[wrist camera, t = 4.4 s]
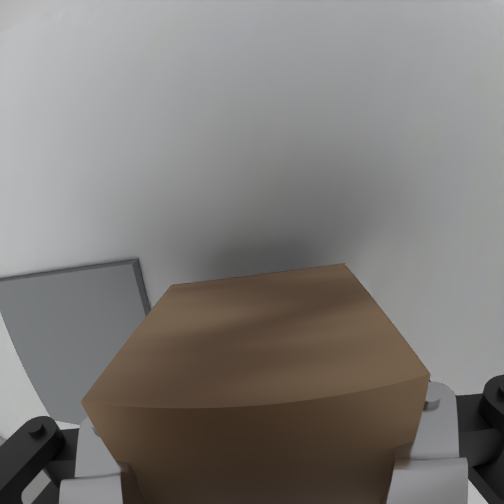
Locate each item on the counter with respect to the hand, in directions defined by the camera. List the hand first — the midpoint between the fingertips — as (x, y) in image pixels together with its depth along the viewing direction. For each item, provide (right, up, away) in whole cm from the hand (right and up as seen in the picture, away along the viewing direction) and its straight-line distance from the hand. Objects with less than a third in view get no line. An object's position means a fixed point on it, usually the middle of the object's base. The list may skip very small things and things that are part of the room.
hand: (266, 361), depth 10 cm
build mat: (-12, -3, +8) cm, 14 cm away
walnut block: (0, 0, +1) cm, 1 cm away
